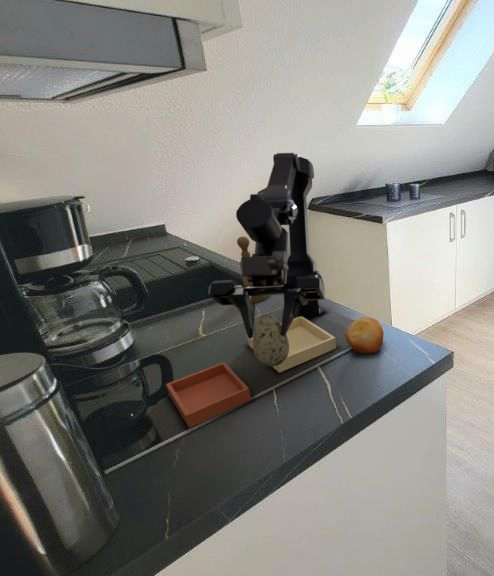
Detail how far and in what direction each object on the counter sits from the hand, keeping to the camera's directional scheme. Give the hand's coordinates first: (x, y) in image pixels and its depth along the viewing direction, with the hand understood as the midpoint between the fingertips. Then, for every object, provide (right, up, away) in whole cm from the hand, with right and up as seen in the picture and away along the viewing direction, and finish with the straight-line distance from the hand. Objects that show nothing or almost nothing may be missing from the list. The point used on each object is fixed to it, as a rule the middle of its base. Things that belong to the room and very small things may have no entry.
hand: (266, 336), depth 70 cm
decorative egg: (0, -6, +4) cm, 7 cm away
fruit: (+14, -5, +19) cm, 24 cm away
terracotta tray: (-12, -12, +4) cm, 17 cm away
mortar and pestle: (-22, +5, +45) cm, 51 cm away
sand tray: (-2, -5, +20) cm, 21 cm away
